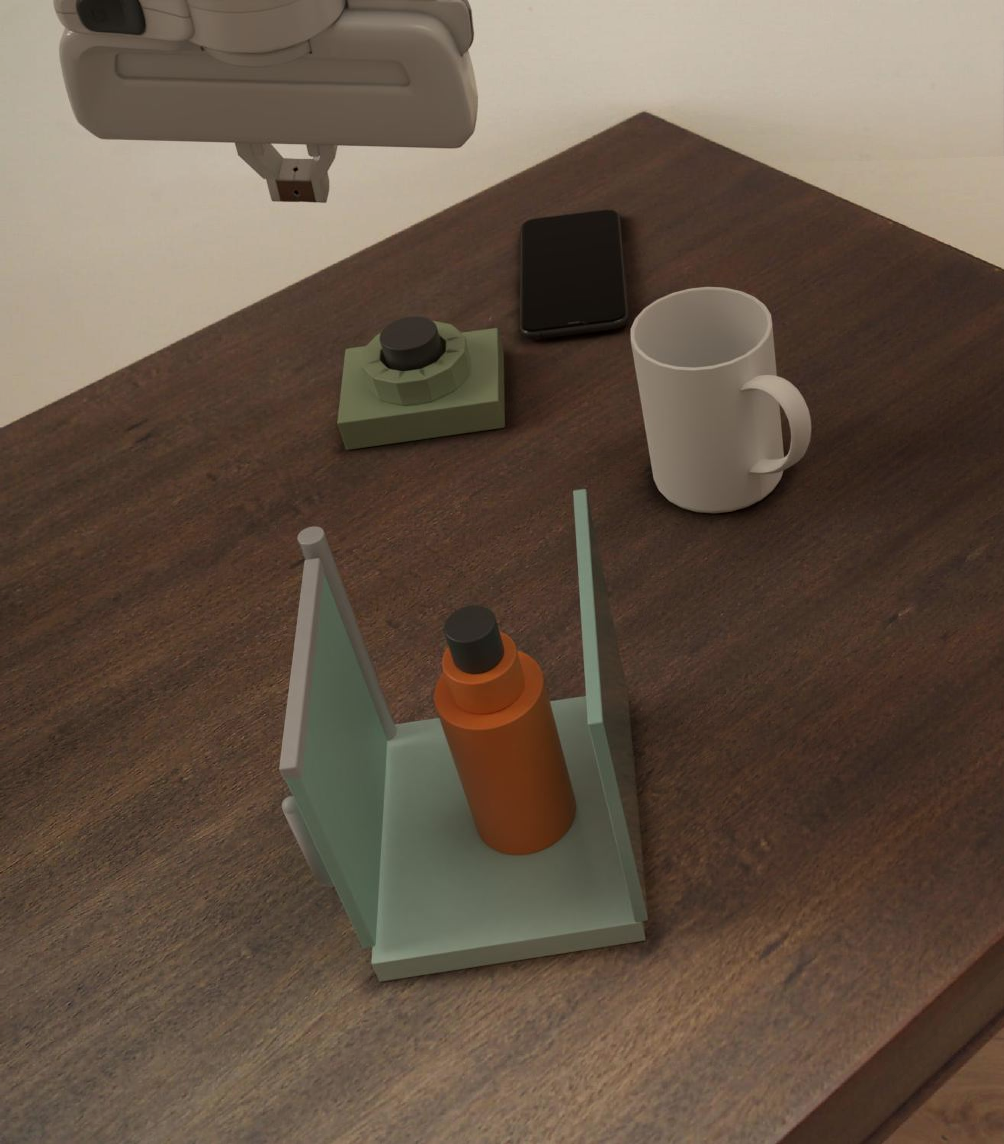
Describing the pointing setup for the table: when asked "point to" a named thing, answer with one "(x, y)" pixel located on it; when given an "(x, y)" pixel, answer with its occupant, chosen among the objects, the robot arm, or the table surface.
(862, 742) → the table surface
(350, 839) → the shower door
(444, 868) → the shower
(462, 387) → the control block
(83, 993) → the table surface
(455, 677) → the shampoo bottle
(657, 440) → the mug
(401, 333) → the button
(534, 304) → the smartphone
